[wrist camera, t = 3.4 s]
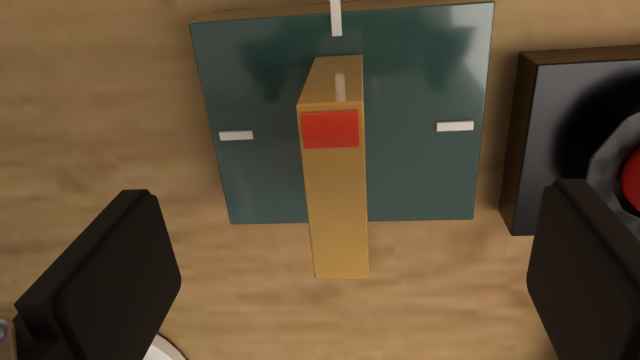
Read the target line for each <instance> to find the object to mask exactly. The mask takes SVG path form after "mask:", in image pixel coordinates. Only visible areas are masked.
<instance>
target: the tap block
mask: <svg viewBox="0 0 640 360" xmlns="http://www.w3.org/2000/svg"><path fill="white" fill-rule="evenodd" d="M494 9H495V1H493V0H363V1H349V2H340V0H330V3H322V4H309V5H296V6H282V7H269V8H256V9H242V10H229V11H215V12H211V13H209V14H207V15H205V16H203V17H201V18H199V19H196V20H194V21H192V22H190V23H189V28H190V33H191V38H192V43H193V48H194V52H195V57H196V62H197V67H198V71H199V76H200V81H201V86H202V90H203V95H204V100H205V105H206V110H207V114H208V119H209V124H210V129H211V133H212V138H213V143H214V148H215V152H216V157H217V162H218V167H219V172H220V176H221V181H222V186H223V191H224V195H225V200H226V205H227V210H228V214H229V219H230V224H274V223H309V222H308V213H307V204H306V195H305V185H304V176H303V167H302V158H301V149H300V139H299V130H298V121H297V112H296V104H297V102H298V99H299V97H300V94H301V92H302V89H303V87H304V84H305V81H306V79H307V76H308V74H309V71H310V69H311V66H312V63H313V61H314V58H315V57H324V56H340V55H357V54H361V55H362V56H363V79H364V110H365V141H366V172H367V205H368V222H371V221H420V220H469V219H473V214H474V205H475V195H476V185H477V175H478V166H479V156H480V146H481V136H482V126H483V117H484V107H485V97H486V87H487V78H488V68H489V58H490V48H491V39H492V29H493V19H494Z"/></svg>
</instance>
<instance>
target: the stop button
mask: <svg viewBox="0 0 640 360" xmlns="http://www.w3.org/2000/svg"><path fill="white" fill-rule="evenodd" d="M620 184H621V190H622V193H623V195H624V196H625V198H626V199H627V200H628V201H629V202H630V203H631V204H632V205H633V206H634V207H635V208H636V209H637V210H638V211H639V212H640V146H639V147H638V148H637V149H636V150H635V151H634V152H633V153H632V154H631V155H630V157H629V158H628V159H627V161H626V163H625V165H624V167H623V169H622V172H621V177H620Z"/></svg>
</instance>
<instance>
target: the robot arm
mask: <svg viewBox="0 0 640 360" xmlns="http://www.w3.org/2000/svg"><path fill="white" fill-rule="evenodd" d="M526 281H527V288H528V292H529V294H530V296H531V299H532V301H533V303H534V305H535V308H536V310H537V312H538V314H539V316H540V319H541V321H542V323H543V325H544V327H545V330H546V332H547V334H548V336H549V339H550V341H551V343H552V345H553V347H554V350H555V352H556V354H557V356H558V359H559V360H640V242H639V241H638V239H637V238H636V237H635V236H634V235H633V234H632V233H631V231H630V230H629V229H628V228H627V227H626V226H625V225H624V224H623V222H622V221H621V220H620V219H619V218H618V217H617V216H616V214H615V213H614V212H613V211H612V210H611V209H610V208H609V207H608V205H607V204H606V203H605V202H604V201H603V200H602V199H601V198H600V196H599V195H598V194H597V193H596V192H595V191H594V190H593V188H592V187H591V186H590V185H589V184H588V183H587V182H586V181H585V180H584V179H562V180H555V181H553V183H552V185H551V186H546V187H545V188H544V190H543V194H542V199H541V204H540V209H539V215H538V220H537V225H536V230H535V235H534V240H533V246H532V251H531V256H530V261H529V266H528V272H527V278H526ZM180 287H181V275H180V271H179V268H178V265H177V262H176V258H175V255H174V252H173V248H172V245H171V242H170V238H169V235H168V232H167V229H166V225H165V222H164V219H163V215H162V212H161V209H160V206H159V202H158V199H157V197H156V196H155V195H151V193H150V192H149V191H148V190H146V189H136V190H122V191H121V192H120V193H119V194H118V195H117V196H116V197H115V198H114V199H113V200H112V201H111V202H110V203H109V204H108V206H107V207H106V208H105V209H104V210H103V211H102V212H101V213H100V214H99V215H98V216H97V217H96V218H95V219H94V220H93V221H92V222H91V223H90V224H89V226H88V227H87V228H86V229H85V230H84V231H83V232H82V233H81V234H80V235H79V236H78V237H77V238H76V239H75V240H74V241H73V242H72V243H71V245H70V246H69V247H68V248H67V249H66V250H65V251H64V252H63V253H62V254H61V255H60V256H59V257H58V258H57V259H56V260H55V261H54V262H53V263H52V265H51V266H50V267H49V268H48V269H47V270H46V271H45V272H44V273H43V274H42V275H41V276H40V277H39V278H38V279H37V280H36V281H35V282H34V284H33V285H32V286H31V287H30V288H29V289H28V290H27V291H26V292H25V293H24V294H23V295H22V296H21V297H20V298H19V299H18V300H17V301H16V302H15V304H14V306H15V308H16V310H17V311H18V314H17V316H16V317H15V318H14V319H13V320H11V319H10V318H8V317H6V316H0V360H186V359H185V358H184V357H183V356H182V354H181V353H180V352H179V351H178V350H177V349H176V348H175V347H174V346H172V345H171V344H170V343H169V342H168V341H167V340H165V339H164V338H162V337H161V336H159V335H158V334H157V332H158V330H159V328H160V326H161V324H162V323H163V321H164V319H165V317H166V315H167V313H168V311H169V309H170V307H171V305H172V303H173V301H174V300H175V298H176V296H177V294H178V292H179V290H180Z"/></svg>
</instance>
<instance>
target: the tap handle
mask: <svg viewBox="0 0 640 360" xmlns="http://www.w3.org/2000/svg"><path fill="white" fill-rule="evenodd" d="M296 112H297V121H298V130H299V139H300V149H301V158H302V167H303V176H304V185H305V195H306V204H307V213H308V222H309V231H310V240H311V250H312V259H313V268H314V277H315V279H368V278H369V241H368V205H367V172H366V141H365V110H364V79H363V56H362V55H361V54H357V55H340V56H324V57H315V58H314V61H313V63H312V66H311V69H310V71H309V74H308V76H307V79H306V81H305V84H304V87H303V89H302V92H301V94H300V97H299V99H298V102H297V104H296Z"/></svg>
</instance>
